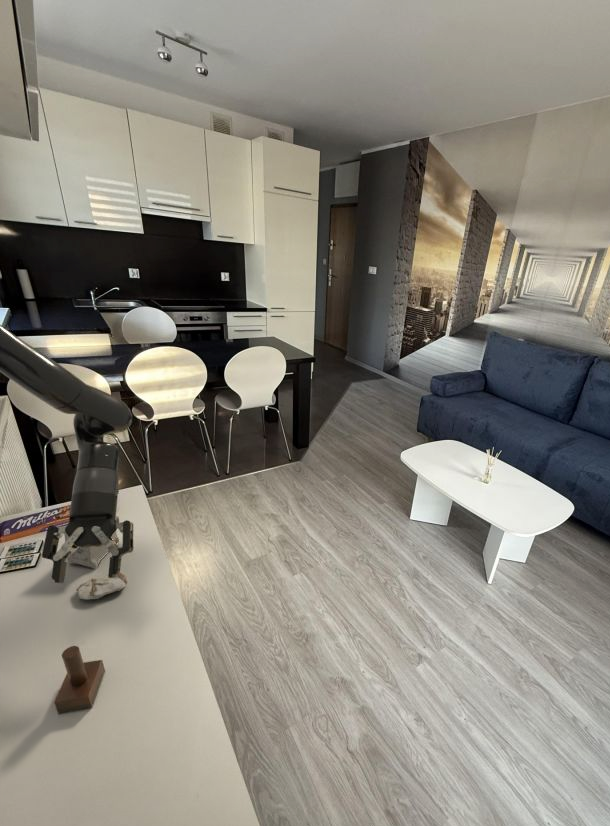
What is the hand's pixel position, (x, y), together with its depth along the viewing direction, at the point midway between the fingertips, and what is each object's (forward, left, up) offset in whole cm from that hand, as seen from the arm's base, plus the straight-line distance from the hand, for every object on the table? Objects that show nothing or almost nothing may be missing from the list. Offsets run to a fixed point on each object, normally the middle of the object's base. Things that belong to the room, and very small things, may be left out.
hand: (86, 580), depth 73 cm
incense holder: (-9, +27, -16) cm, 33 cm away
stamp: (0, -11, -16) cm, 19 cm away
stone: (-4, +14, -16) cm, 22 cm away
